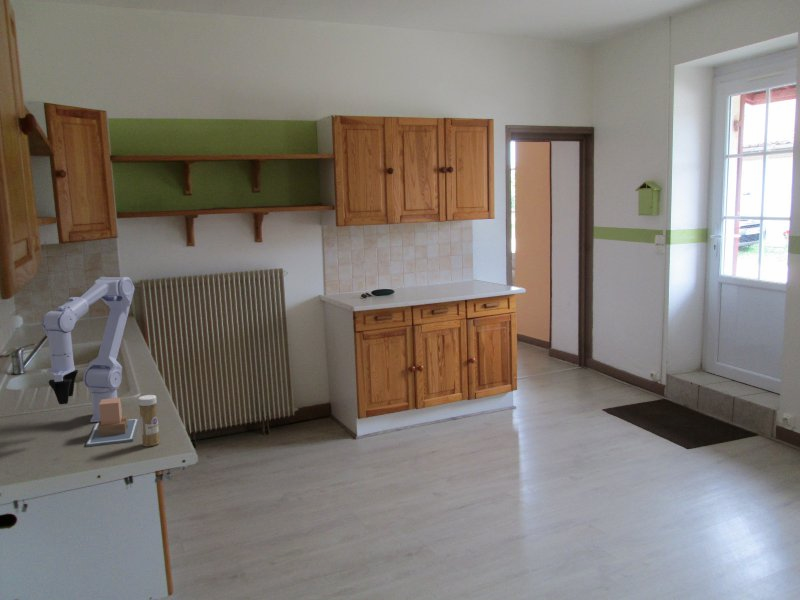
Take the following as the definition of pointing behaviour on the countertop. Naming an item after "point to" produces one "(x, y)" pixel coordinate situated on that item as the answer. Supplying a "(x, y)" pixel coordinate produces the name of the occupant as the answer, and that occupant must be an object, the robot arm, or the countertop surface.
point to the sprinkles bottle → (149, 420)
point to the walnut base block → (113, 428)
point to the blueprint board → (112, 439)
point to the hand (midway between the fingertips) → (66, 399)
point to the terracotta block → (110, 411)
